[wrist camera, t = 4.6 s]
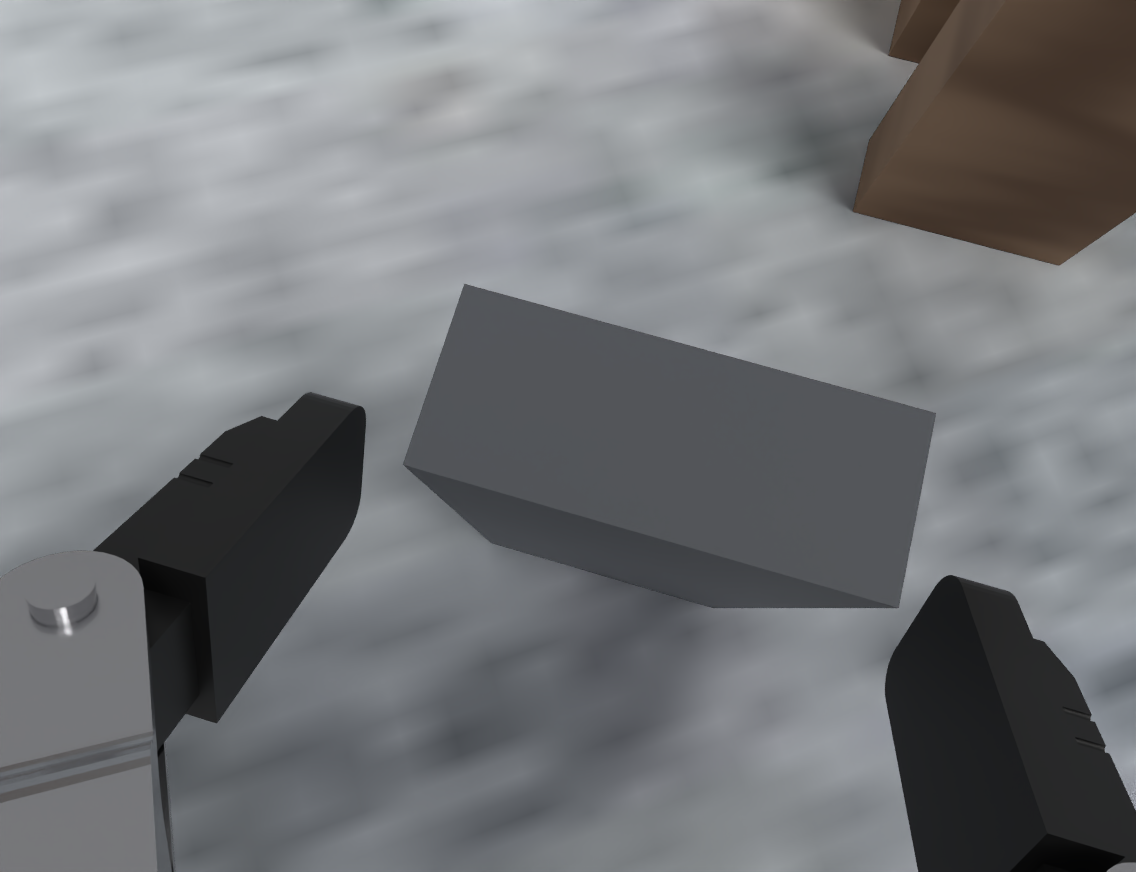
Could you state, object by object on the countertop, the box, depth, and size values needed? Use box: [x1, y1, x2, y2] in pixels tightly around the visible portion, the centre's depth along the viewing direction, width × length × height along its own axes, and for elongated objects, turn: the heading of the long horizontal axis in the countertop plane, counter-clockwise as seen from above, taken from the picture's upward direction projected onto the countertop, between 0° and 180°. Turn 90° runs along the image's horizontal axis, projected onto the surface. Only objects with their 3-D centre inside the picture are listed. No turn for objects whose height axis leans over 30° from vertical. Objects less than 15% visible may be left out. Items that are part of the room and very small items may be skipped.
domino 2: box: [853, 0, 1136, 265], centre depth 14 cm, size 5×2×10 cm, turn 74°
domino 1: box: [403, 284, 936, 608], centre depth 12 cm, size 5×2×10 cm, turn 74°
